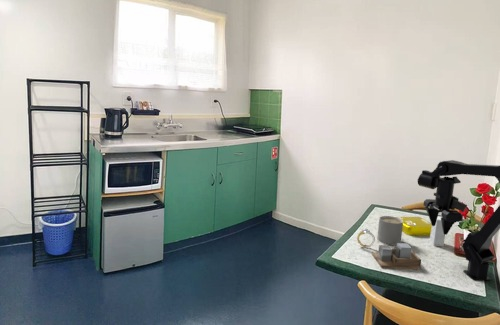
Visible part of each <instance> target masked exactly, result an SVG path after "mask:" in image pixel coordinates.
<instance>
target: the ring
mask: <svg viewBox="0 0 500 325" xmlns="http://www.w3.org/2000/svg"><path fill="white" fill-rule="evenodd" d="M365 234H369V235H370V236H371V237H372V242H371V244H363V243H362V242H361V240H360V236H363V235H365ZM356 239H357V242H358V244H359V245H360V246H362V248H365V247H366V248H370V247H372V246H373V245H374V243H375V241H376V239H375V235H374V234H373V233H372V232H371V230H369V229H368V228H365V229H361V231H360V232H359V233H358V234H357V237H356Z"/></svg>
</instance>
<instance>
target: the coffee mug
mask: <svg viewBox="0 0 500 325" xmlns="http://www.w3.org/2000/svg"><path fill="white" fill-rule="evenodd" d="M397 217H398V216H392V215H381V216H380V217H379V219H378V228H377V237H376V239H377V241H378V242H379V243H381V244H383V245H389V246H397V243H402V235H403V232H402V228H403V220H402V219H400V218H397Z"/></svg>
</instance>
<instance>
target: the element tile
mask: <svg viewBox="0 0 500 325" xmlns="http://www.w3.org/2000/svg"><path fill="white" fill-rule="evenodd" d="M396 217H397V218H400V219H402V220H403V228H402V233H403V234H405V235H407V236H411V237H412V236H430V235H431V228H432V224H431V221H428V220H426V219H425V218H423V217H420V216H396Z"/></svg>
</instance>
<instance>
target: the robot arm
mask: <svg viewBox="0 0 500 325" xmlns="http://www.w3.org/2000/svg"><path fill="white" fill-rule="evenodd" d="M457 175H459V176H460V175H467V176H468V175H471V176H482V177H483V176H484V177H485V176H486V177H494V178H495V179H497V181H498V183H499V184H500V165H496V164H495V165H494V164H477V163H476V164H473V163H465V162H462V161H458V160H453V159H452V160H442V161H439V163H438V164H437V165H436V168H435V169H433V171H430V170H426V169H425V170H422V171H421V173H420V175H419V176H418V178H417V185H418V186H420V187H423V188H426V189H431V190H435V191H436V192H433V196H435V198H434V199H431V198H429V199H428V198H426V199H425V200H424V201H423V206H424V209H425V210H426V213H427V216H428V219H429V222H430V223H431V224H432V226H435V224H436V221H437V217H438V216H439V214H440V213H441V217H442V218H441V222H442V228H443V233H444V235H445V236H447V235H448V234H449V231H450V230H451V228H452V227H453V225H454V224H455V223H459V222H461V221H463V219H464V215H463V213H464V212H465V210H466V208H467V206H468V204H466V203H465V202H462V201H460V200H459V198H458V197H456V196H454V195H453V194H454V188H455V185H457V184H460V183H461V180H460V179H459V178H458V176H457ZM450 176H452V177H450ZM459 211H460V212H459ZM461 212H462V213H461ZM499 230H500V204H499V205H498V206H497V207H496V209H495V210H494V212H493V213H492V214H491V215H490V217H489V218H488V219H487V220H486V222H485V223H484V224H483V225H482V227H481V228H479V230H475V231H471V232H469V233H468V234H467V235H466V237H465V239H462V242H463V243H462V245H461V246H462V250H463V252H464V254H465V260H466V261H468V264H467V269H463V271H462V272H463V273H465V275H467V276H468V277H469V278H470V279H471V280H474V281H491V280H492V279H491V278H490V277H489V276H488V274H489V273H488V272H489V267H490V263H489V262H491V261H493V260H494V259H495V257H496V256H495V255H494V253H493V252H492V250H491V248H490V247H491V245H492V243H493V238H494V236H495V235H496V234H497V233H498V232H499Z"/></svg>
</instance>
